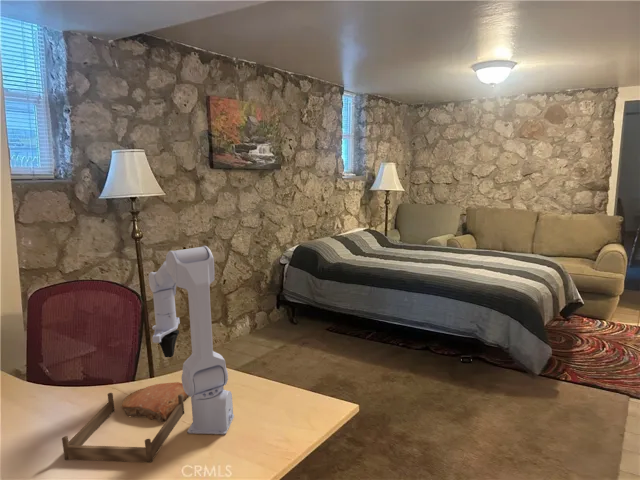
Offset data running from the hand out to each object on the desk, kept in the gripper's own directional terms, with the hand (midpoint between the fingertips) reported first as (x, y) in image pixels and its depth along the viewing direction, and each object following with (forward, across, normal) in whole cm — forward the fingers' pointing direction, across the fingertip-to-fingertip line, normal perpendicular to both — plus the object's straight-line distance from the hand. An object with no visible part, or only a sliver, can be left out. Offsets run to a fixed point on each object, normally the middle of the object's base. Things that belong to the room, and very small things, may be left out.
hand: (169, 356), depth 134 cm
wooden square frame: (+8, +26, 0) cm, 27 cm away
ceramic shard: (+9, +13, +1) cm, 15 cm away
